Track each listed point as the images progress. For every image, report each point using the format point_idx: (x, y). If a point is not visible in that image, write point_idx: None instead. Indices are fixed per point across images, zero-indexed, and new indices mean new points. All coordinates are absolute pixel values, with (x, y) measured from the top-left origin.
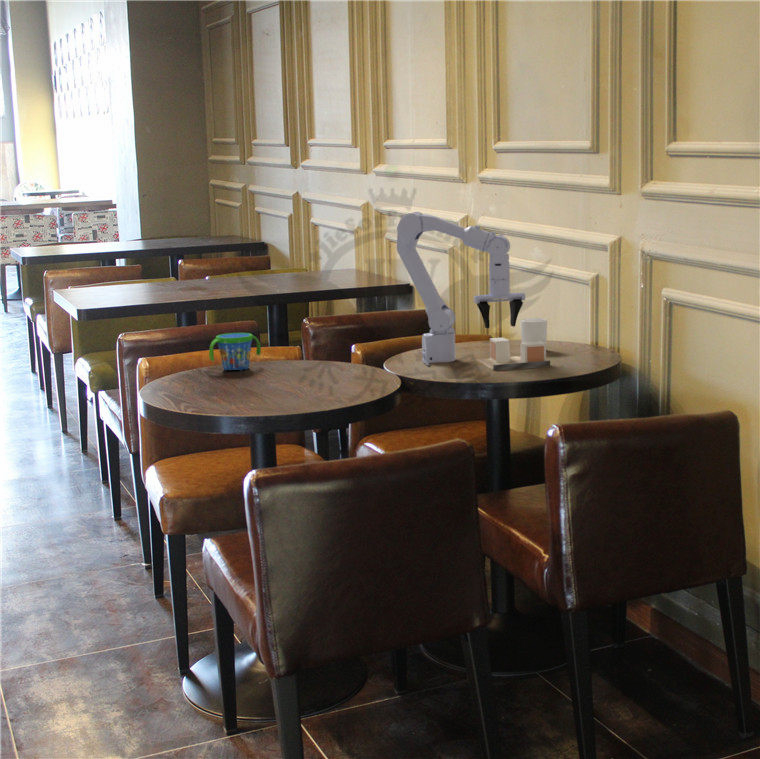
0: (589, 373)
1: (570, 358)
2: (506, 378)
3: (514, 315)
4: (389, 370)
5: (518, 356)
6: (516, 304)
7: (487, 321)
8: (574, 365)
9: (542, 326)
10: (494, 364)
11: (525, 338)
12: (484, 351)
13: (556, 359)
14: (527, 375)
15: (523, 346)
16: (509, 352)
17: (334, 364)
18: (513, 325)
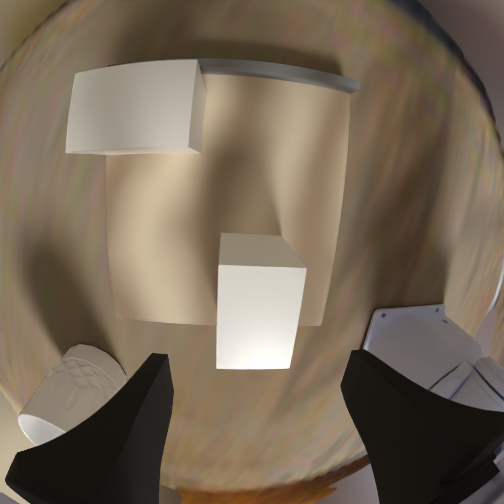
0: (66, 4)
1: (14, 247)
2: (330, 8)
3: (137, 407)
4: (498, 284)
5: (156, 316)
6: (80, 489)
7: (390, 371)
8: (32, 124)
9: (33, 400)
10: (305, 197)
11: (106, 399)
12: (225, 435)
13: (46, 250)
14: (246, 9)
15: (195, 89)
16: (222, 243)
17: (499, 360)
18: (162, 357)
